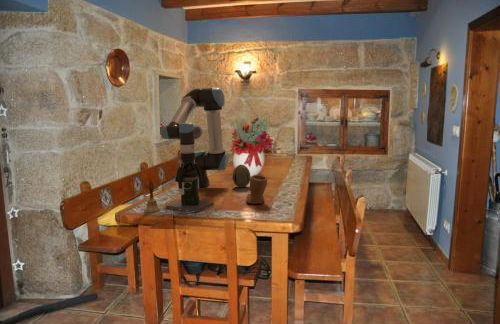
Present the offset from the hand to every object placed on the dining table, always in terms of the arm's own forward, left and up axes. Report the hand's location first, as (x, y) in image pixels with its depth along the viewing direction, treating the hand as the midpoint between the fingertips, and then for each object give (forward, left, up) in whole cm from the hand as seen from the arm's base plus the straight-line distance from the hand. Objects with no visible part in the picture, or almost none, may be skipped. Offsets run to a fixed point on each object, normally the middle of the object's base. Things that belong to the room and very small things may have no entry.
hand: (189, 191), depth 205 cm
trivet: (0, 0, -8) cm, 8 cm away
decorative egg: (+4, +52, -8) cm, 53 cm away
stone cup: (+29, +23, -8) cm, 38 cm away
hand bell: (-14, -14, -8) cm, 22 cm away
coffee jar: (0, 0, -7) cm, 7 cm away
